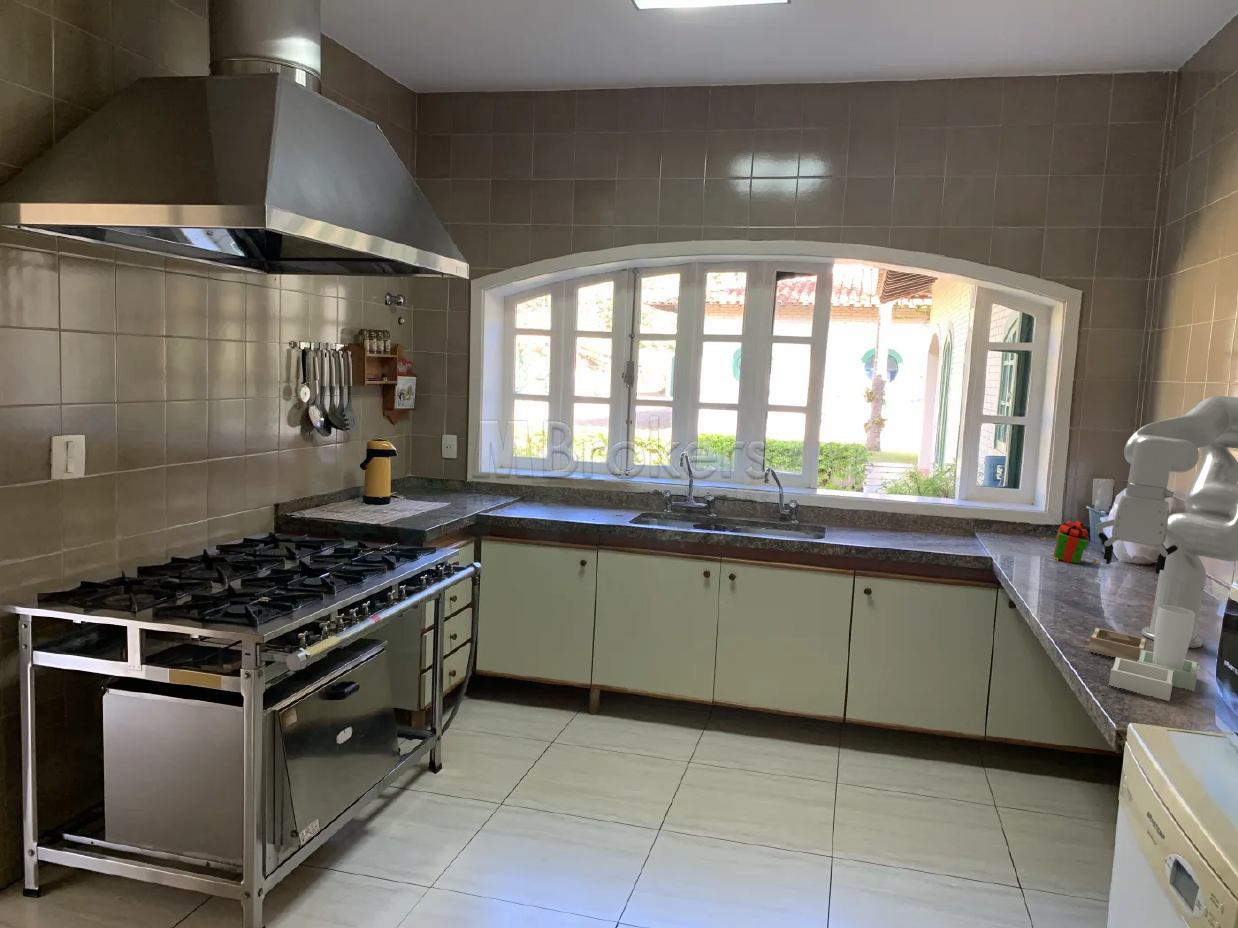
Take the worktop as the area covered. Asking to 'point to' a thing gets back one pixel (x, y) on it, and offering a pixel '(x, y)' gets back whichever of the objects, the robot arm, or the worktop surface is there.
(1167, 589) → the robot arm
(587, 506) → the worktop surface
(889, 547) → the worktop surface
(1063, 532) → the gift wrap
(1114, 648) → the beech frame
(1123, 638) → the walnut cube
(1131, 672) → the cream frame
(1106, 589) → the worktop surface
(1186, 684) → the sage frame
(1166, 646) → the white cup
